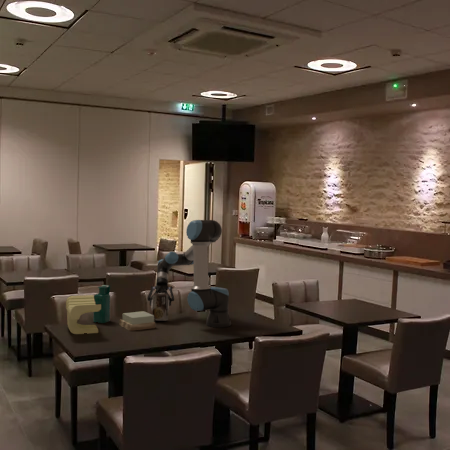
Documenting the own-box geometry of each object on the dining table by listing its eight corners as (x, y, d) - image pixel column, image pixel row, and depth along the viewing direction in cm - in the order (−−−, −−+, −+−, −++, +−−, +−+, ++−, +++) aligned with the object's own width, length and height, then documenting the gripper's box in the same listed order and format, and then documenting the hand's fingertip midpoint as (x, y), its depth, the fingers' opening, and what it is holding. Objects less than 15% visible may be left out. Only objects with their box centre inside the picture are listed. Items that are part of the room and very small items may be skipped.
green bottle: (103, 323, 333) (104, 287, 332) (91, 322, 336) (92, 286, 335) (112, 320, 343) (112, 285, 342) (100, 319, 345) (100, 284, 344)
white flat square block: (153, 322, 326) (153, 315, 326) (132, 324, 318) (132, 317, 318) (143, 317, 338) (143, 311, 338) (122, 320, 330) (122, 313, 330)
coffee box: (168, 318, 346) (168, 293, 345) (166, 321, 340) (166, 295, 339) (154, 318, 347) (154, 292, 346) (151, 320, 341) (152, 294, 340)
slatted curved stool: (65, 325, 325) (66, 296, 324) (93, 324, 331) (93, 295, 330) (70, 338, 297) (71, 305, 296) (100, 336, 303) (101, 304, 302)
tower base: (155, 328, 326) (155, 322, 326) (130, 331, 317) (130, 325, 317) (143, 323, 340) (143, 317, 339) (119, 326, 331) (119, 319, 331)
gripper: (179, 284, 358) (178, 313, 343) (145, 283, 357) (142, 312, 342) (179, 277, 353) (177, 306, 338) (144, 276, 352) (141, 305, 337)
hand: (160, 309), depth 340 cm, fingers closed on coffee box, 9 cm apart
